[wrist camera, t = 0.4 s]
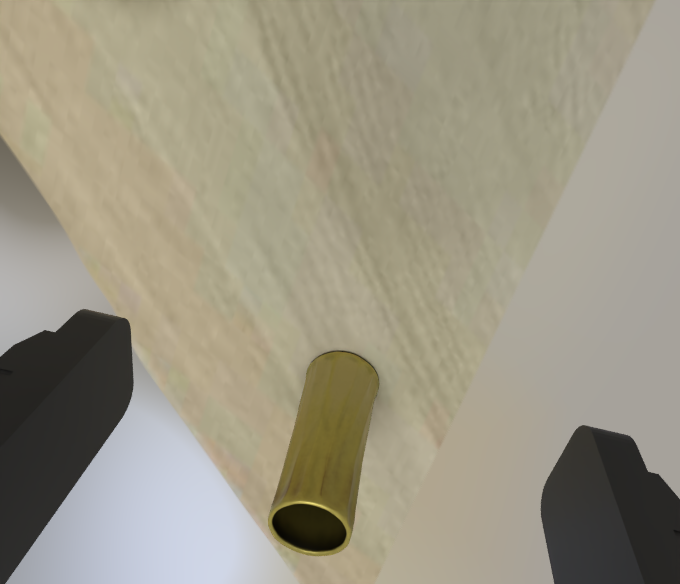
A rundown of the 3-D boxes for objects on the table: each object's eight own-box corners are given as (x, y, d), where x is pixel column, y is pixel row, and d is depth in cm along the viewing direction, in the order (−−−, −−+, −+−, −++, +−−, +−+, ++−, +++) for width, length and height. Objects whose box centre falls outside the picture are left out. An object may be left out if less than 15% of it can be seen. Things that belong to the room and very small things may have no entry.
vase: (368, 415, 46) (345, 571, 34) (300, 396, 46) (253, 545, 34) (387, 362, 43) (370, 513, 31) (314, 341, 43) (268, 484, 31)
